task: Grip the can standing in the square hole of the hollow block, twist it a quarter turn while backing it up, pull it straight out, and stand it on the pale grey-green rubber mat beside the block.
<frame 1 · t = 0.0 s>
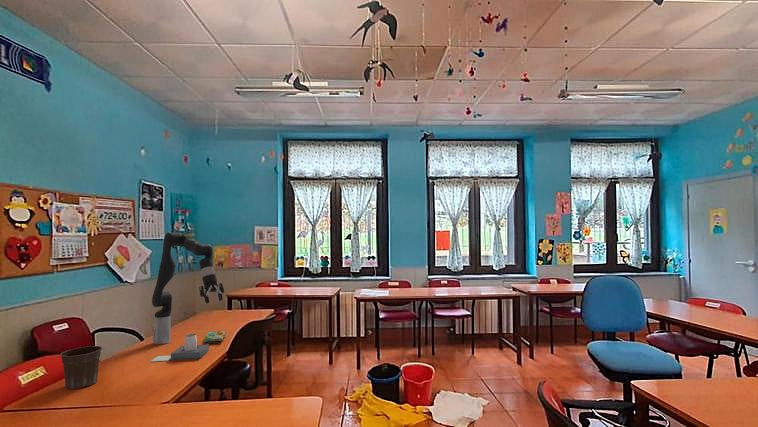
hand: (214, 301, 233), 31 cm above the table, tool tilted 20°, fingers open, 8 cm apart
hollow block: (190, 355, 234), on the table
can: (190, 356, 234), resting in hollow block
plant pot: (81, 385, 191), on the table
puzzle game: (215, 341, 266), on the table
mat: (162, 359, 228), on the table
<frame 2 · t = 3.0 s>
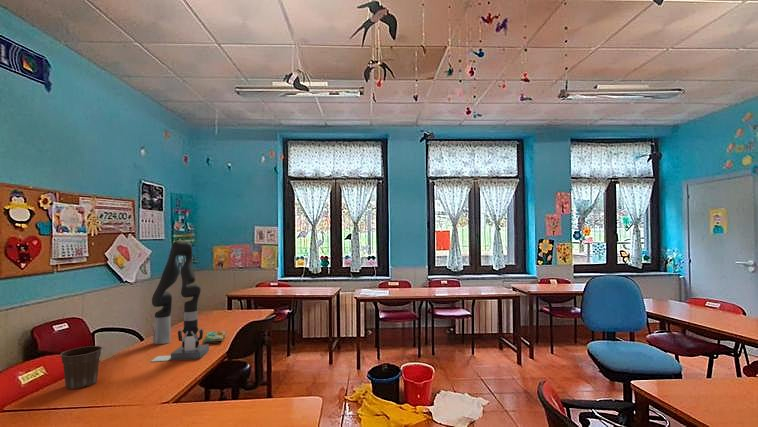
hand: (190, 347, 234), 5 cm above the table, tool pointing down, fingers closed on can, 6 cm apart
can: (190, 355, 234), resting in hollow block, touching gripper
everything else where it was.
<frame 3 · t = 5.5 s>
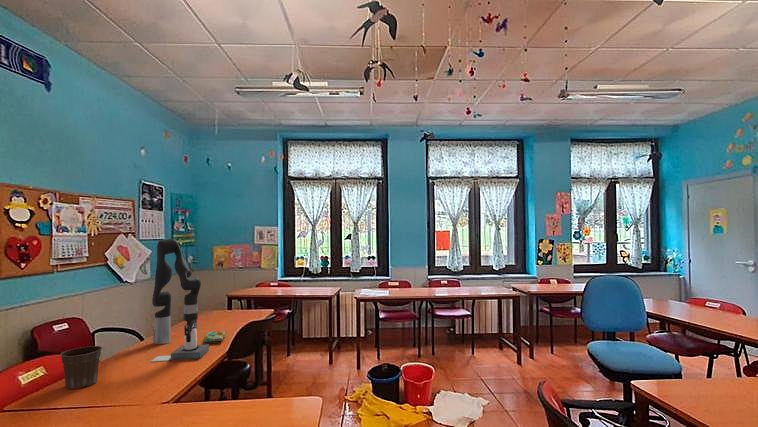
hand: (190, 340, 234), 9 cm above the table, tool pointing down, fingers closed on can, 6 cm apart
can: (190, 348, 234), point 4 cm above the table, touching gripper
everything else where it was.
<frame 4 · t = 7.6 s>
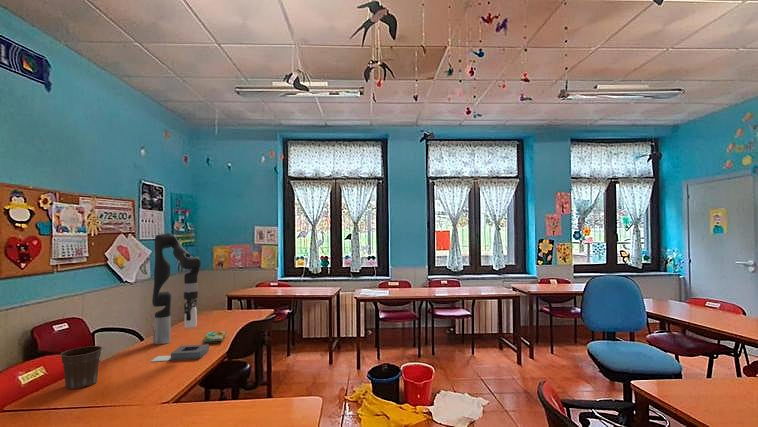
hand: (190, 318, 235), 21 cm above the table, tool pointing down, fingers closed on can, 6 cm apart
can: (190, 327, 234), point 16 cm above the table, touching gripper
everything else where it was.
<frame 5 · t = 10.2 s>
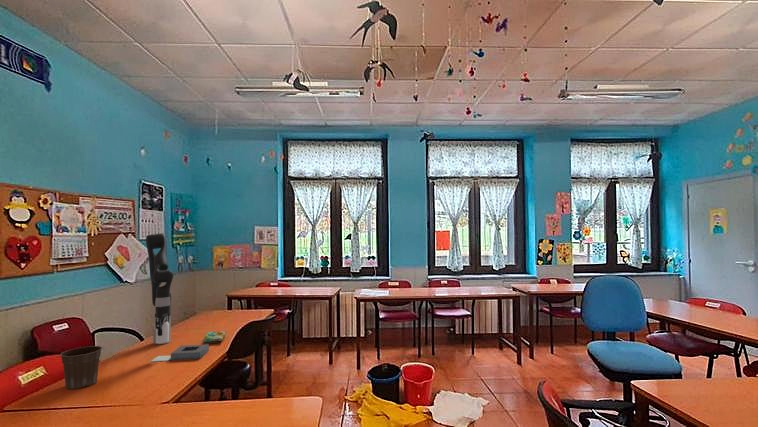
hand: (162, 334, 229), 14 cm above the table, tool pointing down, fingers closed on can, 6 cm apart
can: (162, 342, 228), point 9 cm above the table, touching gripper
everything else where it was.
when the fingers open (7 cm above the table, at t = 12.5 s): can drops 1 cm, resting on mat.
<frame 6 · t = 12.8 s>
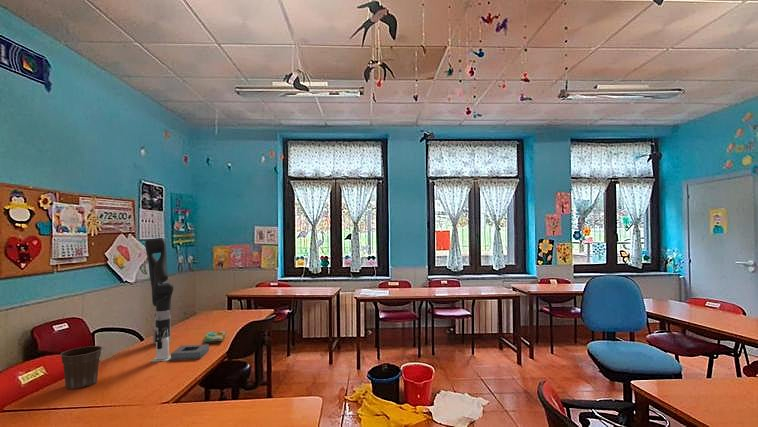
hand: (162, 346, 228), 7 cm above the table, tool pointing down, fingers open, 8 cm apart
can: (162, 358, 228), resting on mat
everything else where it was.
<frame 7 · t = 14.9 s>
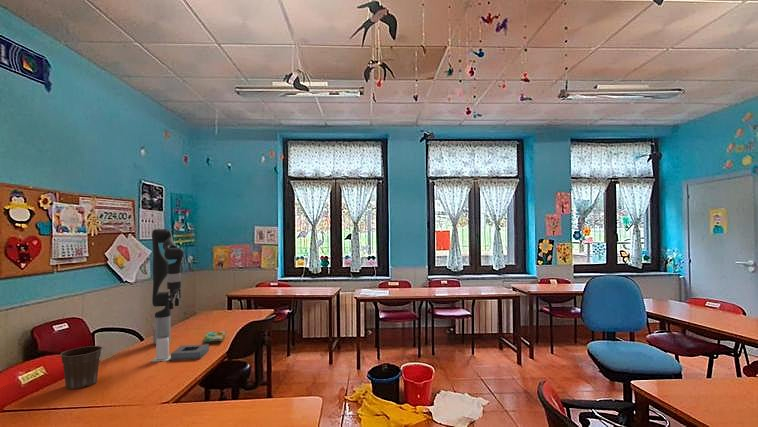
hand: (174, 307, 241), 27 cm above the table, tool pointing down, fingers open, 8 cm apart
nothing on the table moved.
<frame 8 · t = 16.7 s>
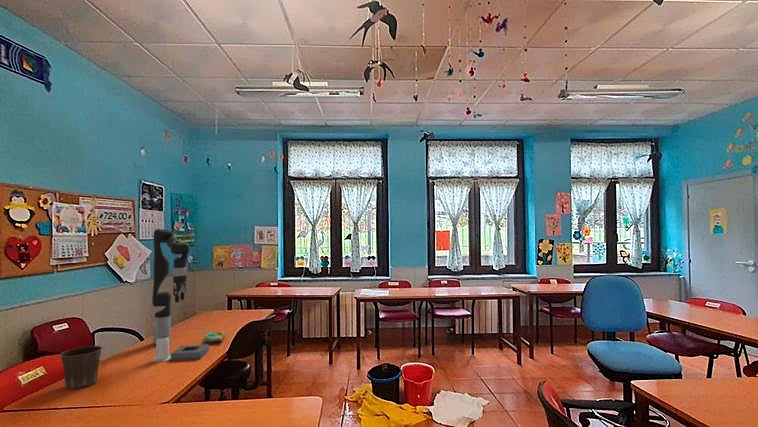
hand: (179, 301, 247), 30 cm above the table, tool pointing down, fingers open, 8 cm apart
nothing on the table moved.
at the end: can inside the target area on the mat (0.1 cm from its centre), point 0.3 cm above the mat's base; can tilted 0°; can touching mat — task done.
